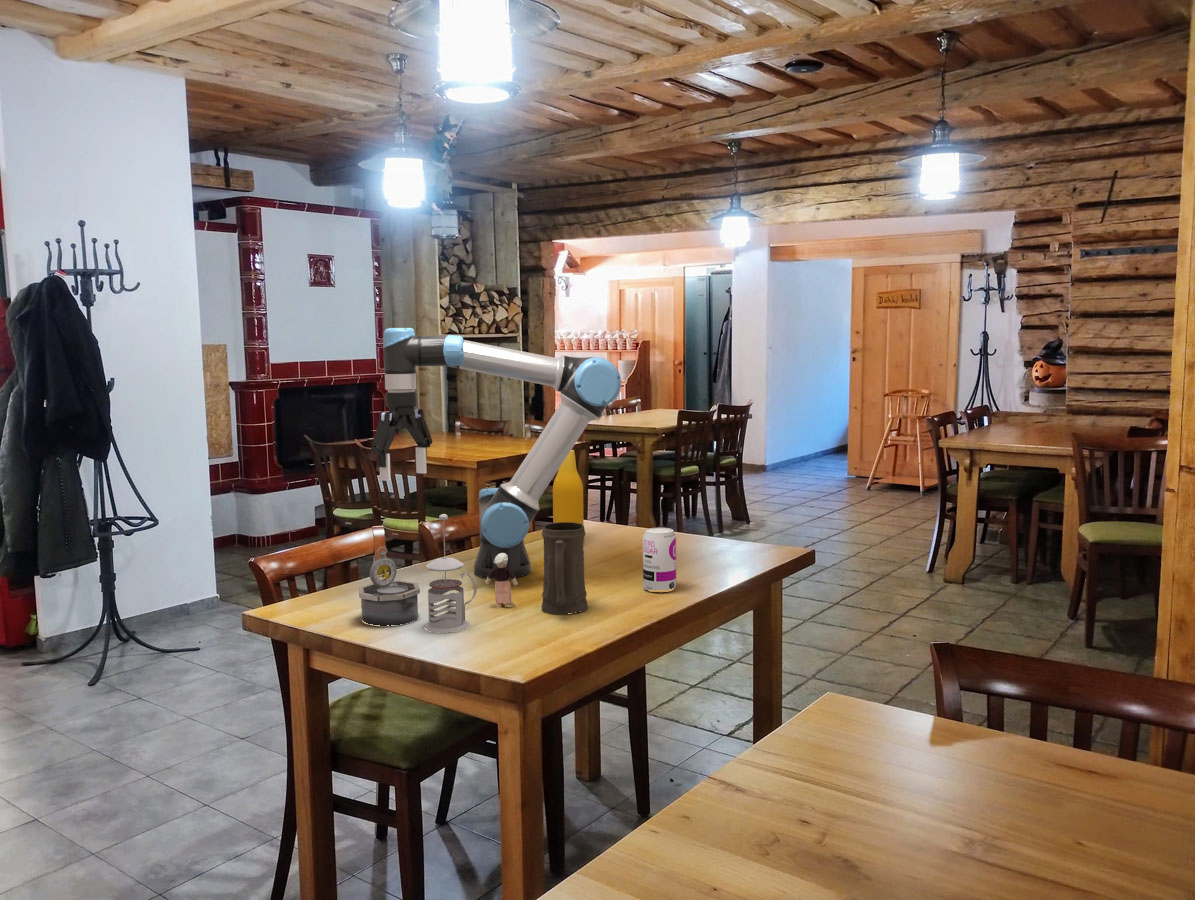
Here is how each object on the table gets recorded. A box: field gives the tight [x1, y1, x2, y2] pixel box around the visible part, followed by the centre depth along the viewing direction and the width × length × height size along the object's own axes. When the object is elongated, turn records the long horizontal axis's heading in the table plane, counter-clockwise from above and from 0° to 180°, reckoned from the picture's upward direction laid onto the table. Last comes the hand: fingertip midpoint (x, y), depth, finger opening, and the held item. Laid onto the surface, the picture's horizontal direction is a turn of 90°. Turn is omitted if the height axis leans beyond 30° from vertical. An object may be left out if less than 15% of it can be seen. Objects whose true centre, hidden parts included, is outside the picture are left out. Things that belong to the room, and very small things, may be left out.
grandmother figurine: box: [485, 553, 519, 608], centre depth 224 cm, size 8×4×13 cm, turn 91°
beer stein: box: [541, 522, 589, 615], centre depth 218 cm, size 15×11×20 cm
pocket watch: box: [369, 546, 408, 595], centre depth 214 cm, size 8×8×10 cm
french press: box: [424, 513, 478, 634], centre depth 208 cm, size 10×12×25 cm
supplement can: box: [642, 527, 677, 591], centre depth 236 cm, size 8×8×15 cm
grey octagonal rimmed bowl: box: [358, 579, 421, 627], centre depth 215 cm, size 13×13×7 cm
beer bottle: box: [552, 449, 585, 545], centre depth 287 cm, size 9×9×29 cm
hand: (403, 476), depth 237 cm, fingers open, 13 cm apart
